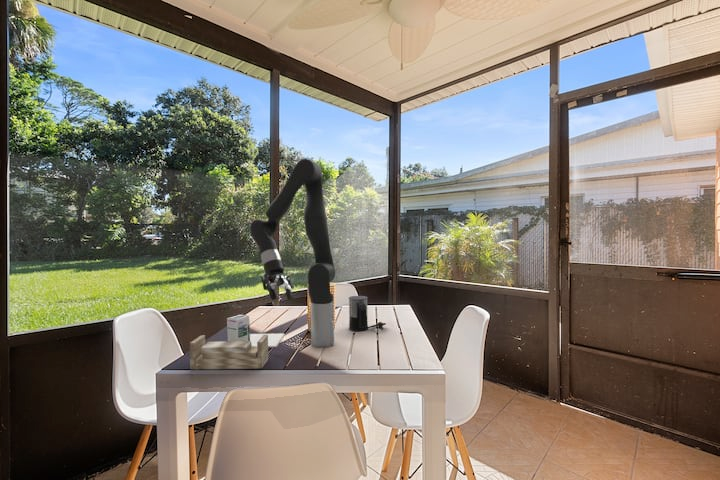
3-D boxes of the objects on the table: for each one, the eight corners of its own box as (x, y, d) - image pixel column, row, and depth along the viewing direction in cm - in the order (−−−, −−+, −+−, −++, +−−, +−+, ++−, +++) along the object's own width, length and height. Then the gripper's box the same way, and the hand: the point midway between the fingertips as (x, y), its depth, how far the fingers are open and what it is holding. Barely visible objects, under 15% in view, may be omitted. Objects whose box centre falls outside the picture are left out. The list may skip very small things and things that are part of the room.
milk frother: (345, 327, 159) (344, 296, 158) (372, 322, 167) (372, 293, 167) (361, 335, 147) (361, 302, 146) (389, 329, 155) (389, 297, 155)
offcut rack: (268, 359, 121) (267, 334, 120) (262, 368, 113) (261, 342, 112) (201, 360, 120) (200, 335, 120) (190, 369, 112) (189, 342, 112)
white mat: (284, 334, 149) (284, 333, 149) (276, 347, 133) (276, 346, 133) (248, 335, 148) (248, 333, 148) (235, 348, 132) (235, 346, 132)
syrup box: (237, 359, 121) (237, 319, 120) (227, 356, 124) (226, 317, 124) (250, 354, 126) (250, 315, 125) (240, 351, 129) (239, 313, 128)
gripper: (264, 256, 129) (275, 295, 123) (290, 260, 141) (301, 295, 135) (252, 265, 132) (262, 303, 126) (278, 268, 144) (289, 303, 138)
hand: (282, 299), depth 131 cm, fingers open, 8 cm apart
